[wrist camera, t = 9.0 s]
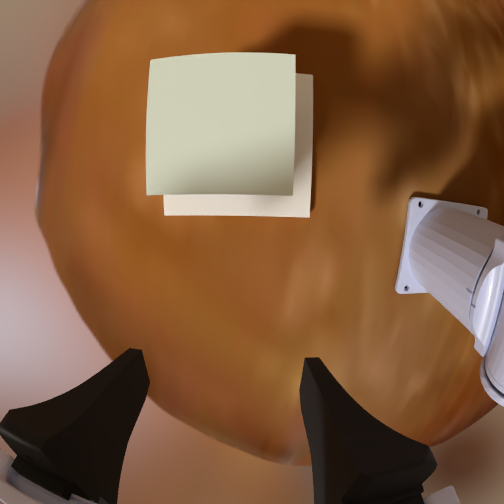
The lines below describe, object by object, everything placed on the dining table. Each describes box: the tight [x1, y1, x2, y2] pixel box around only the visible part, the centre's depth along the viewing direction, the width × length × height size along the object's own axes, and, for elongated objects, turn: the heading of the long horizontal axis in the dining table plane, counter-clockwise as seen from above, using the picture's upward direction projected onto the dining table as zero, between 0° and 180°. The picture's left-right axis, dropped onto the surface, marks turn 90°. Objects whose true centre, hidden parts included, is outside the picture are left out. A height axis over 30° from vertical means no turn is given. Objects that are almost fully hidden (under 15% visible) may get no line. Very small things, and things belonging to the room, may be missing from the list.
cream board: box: [164, 73, 313, 217], centre depth 18 cm, size 10×10×1 cm
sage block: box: [146, 52, 295, 196], centre depth 11 cm, size 5×5×4 cm
